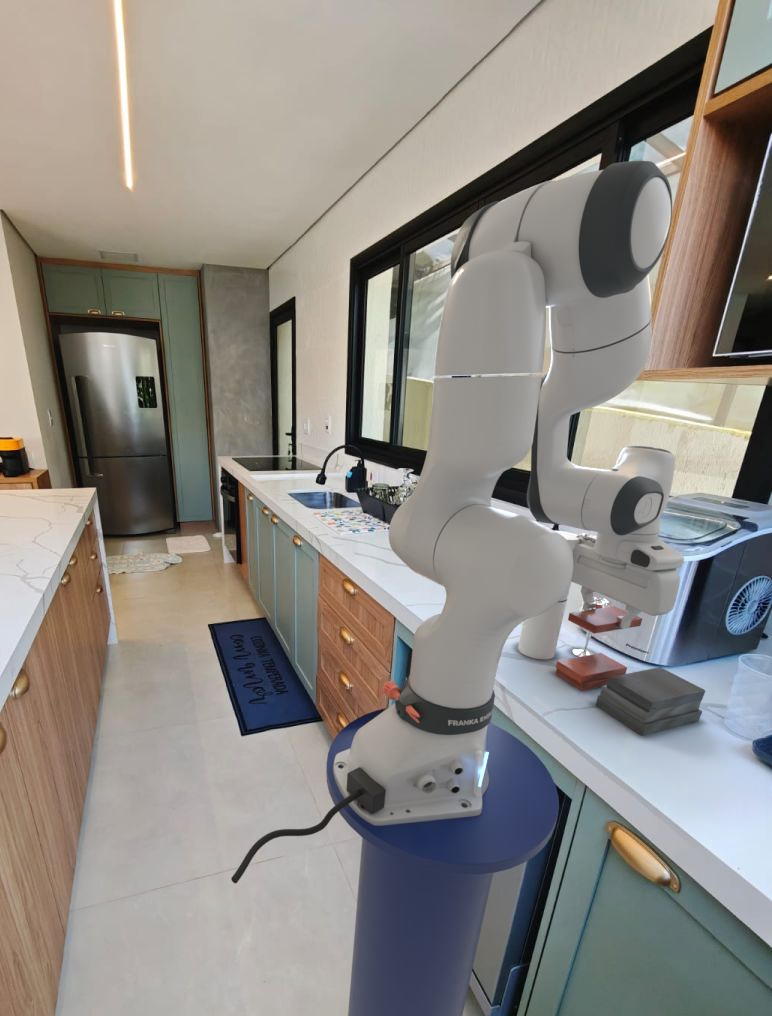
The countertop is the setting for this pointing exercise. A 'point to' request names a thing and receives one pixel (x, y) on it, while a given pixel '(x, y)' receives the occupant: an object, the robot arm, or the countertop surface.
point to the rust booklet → (601, 619)
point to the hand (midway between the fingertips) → (605, 618)
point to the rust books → (589, 670)
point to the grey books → (651, 700)
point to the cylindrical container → (545, 622)
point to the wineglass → (584, 652)
